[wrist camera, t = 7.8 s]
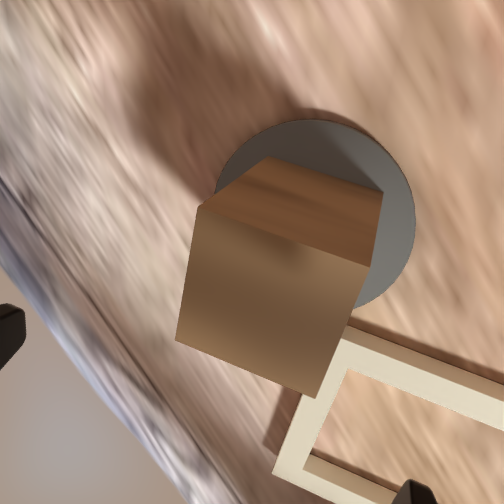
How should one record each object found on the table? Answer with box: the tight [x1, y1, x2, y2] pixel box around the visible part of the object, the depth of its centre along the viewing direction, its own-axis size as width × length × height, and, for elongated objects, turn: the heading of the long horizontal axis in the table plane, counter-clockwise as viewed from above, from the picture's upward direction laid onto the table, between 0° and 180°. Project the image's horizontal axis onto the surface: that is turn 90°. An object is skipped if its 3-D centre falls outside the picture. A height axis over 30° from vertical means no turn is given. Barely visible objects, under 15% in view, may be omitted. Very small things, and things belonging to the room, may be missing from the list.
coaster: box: [214, 119, 416, 309], centre depth 19 cm, size 9×9×1 cm
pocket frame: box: [272, 325, 504, 504], centre depth 22 cm, size 11×15×1 cm
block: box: [175, 156, 384, 399], centre depth 16 cm, size 5×5×7 cm
